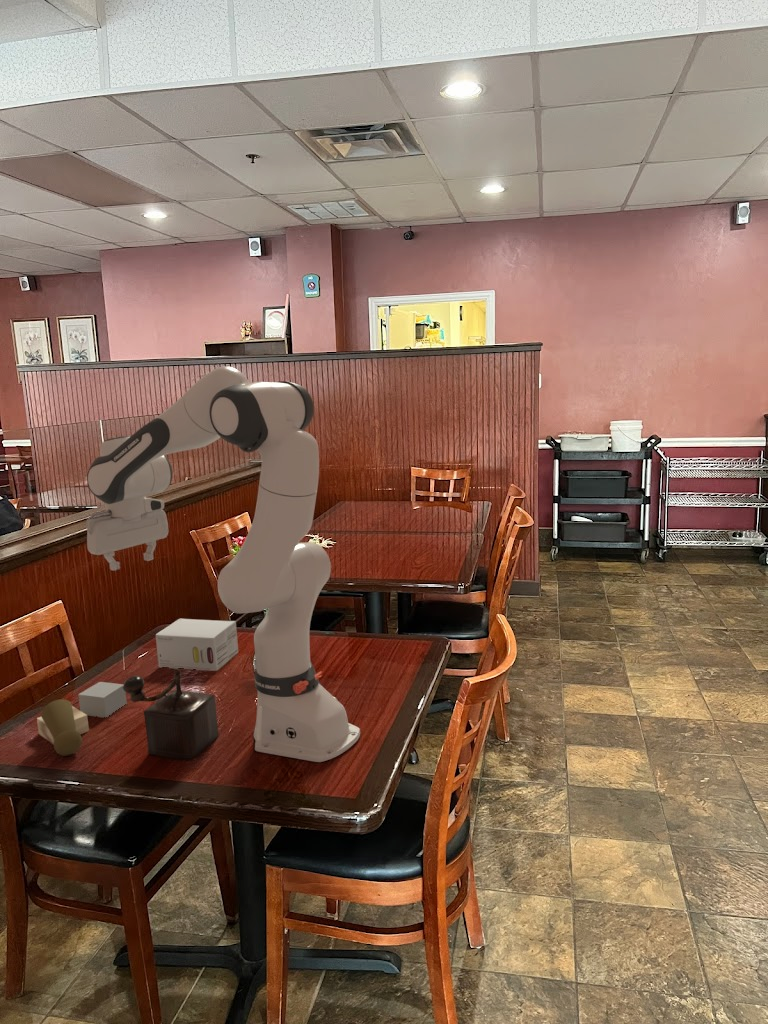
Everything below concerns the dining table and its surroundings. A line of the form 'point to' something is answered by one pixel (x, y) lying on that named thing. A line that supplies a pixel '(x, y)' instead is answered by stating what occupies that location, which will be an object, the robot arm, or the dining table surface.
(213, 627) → the supplement box
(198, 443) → the robot arm
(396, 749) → the dining table surface
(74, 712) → the maple block
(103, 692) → the grey block
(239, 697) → the dining table surface
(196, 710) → the pepper mill
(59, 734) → the cork
